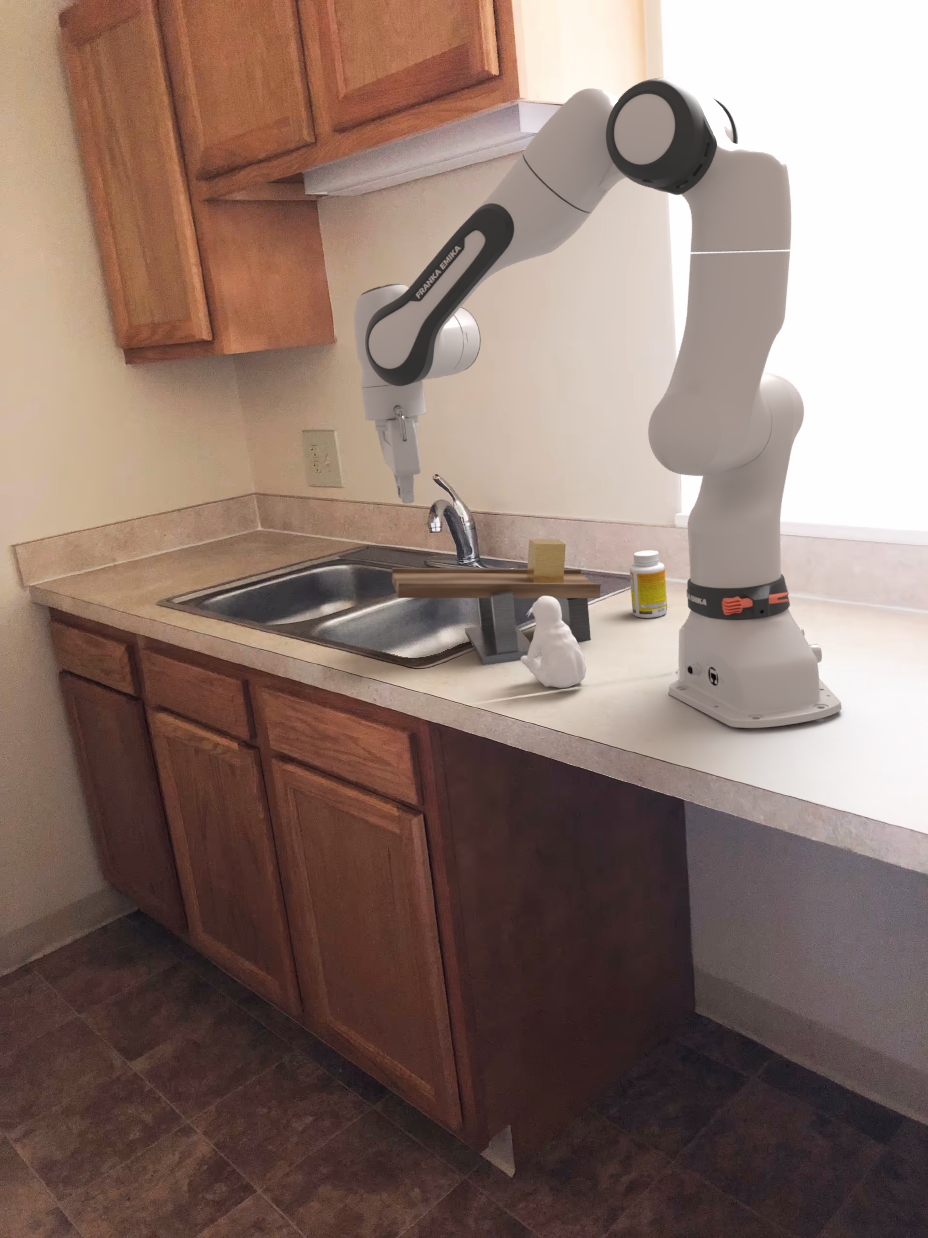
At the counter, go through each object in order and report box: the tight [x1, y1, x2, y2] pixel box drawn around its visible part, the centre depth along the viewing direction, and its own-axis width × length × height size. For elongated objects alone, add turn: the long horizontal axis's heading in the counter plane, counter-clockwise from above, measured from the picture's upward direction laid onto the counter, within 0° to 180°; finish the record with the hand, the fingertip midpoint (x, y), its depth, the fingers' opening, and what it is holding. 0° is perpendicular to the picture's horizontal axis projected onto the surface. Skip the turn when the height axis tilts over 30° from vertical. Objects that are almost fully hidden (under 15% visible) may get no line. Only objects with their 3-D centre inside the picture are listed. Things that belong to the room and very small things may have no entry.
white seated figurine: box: [520, 596, 587, 689], centre depth 134 cm, size 6×8×12 cm
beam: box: [391, 567, 601, 599], centre depth 153 cm, size 12×30×3 cm, turn 99°
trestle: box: [464, 591, 592, 666], centre depth 154 cm, size 17×18×10 cm
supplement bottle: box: [629, 549, 668, 619], centre depth 162 cm, size 6×6×10 cm
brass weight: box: [526, 538, 566, 583], centre depth 153 cm, size 5×5×6 cm
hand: (406, 500), depth 148 cm, fingers open, 4 cm apart
